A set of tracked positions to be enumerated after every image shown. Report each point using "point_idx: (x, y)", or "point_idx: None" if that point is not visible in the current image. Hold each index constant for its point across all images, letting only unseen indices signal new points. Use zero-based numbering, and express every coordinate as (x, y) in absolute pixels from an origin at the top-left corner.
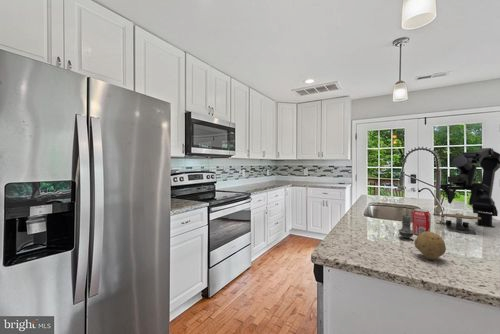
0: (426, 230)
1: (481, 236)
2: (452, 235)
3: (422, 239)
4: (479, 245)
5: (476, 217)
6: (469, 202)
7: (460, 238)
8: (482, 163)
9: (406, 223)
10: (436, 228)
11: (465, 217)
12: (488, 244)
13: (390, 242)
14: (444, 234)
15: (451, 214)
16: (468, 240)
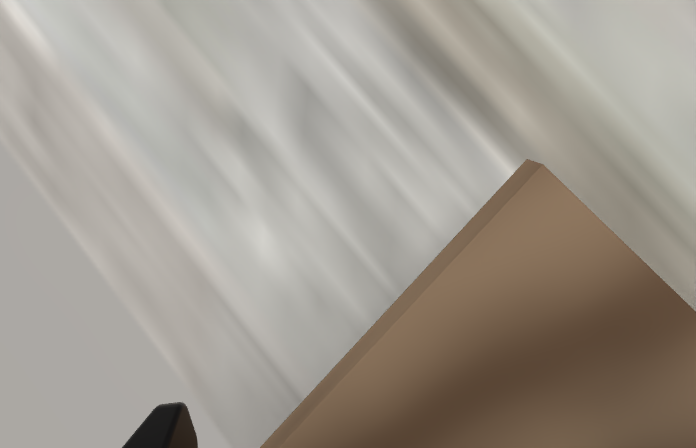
0: None
1: (303, 387)
2: (365, 108)
3: None
4: (77, 79)
5: (274, 444)
6: (157, 436)
7: (269, 97)
8: None
9: None
10: (629, 173)
11: (362, 338)
12: (96, 197)
13: None
14: (407, 48)
15: (498, 208)
16: (207, 119)
